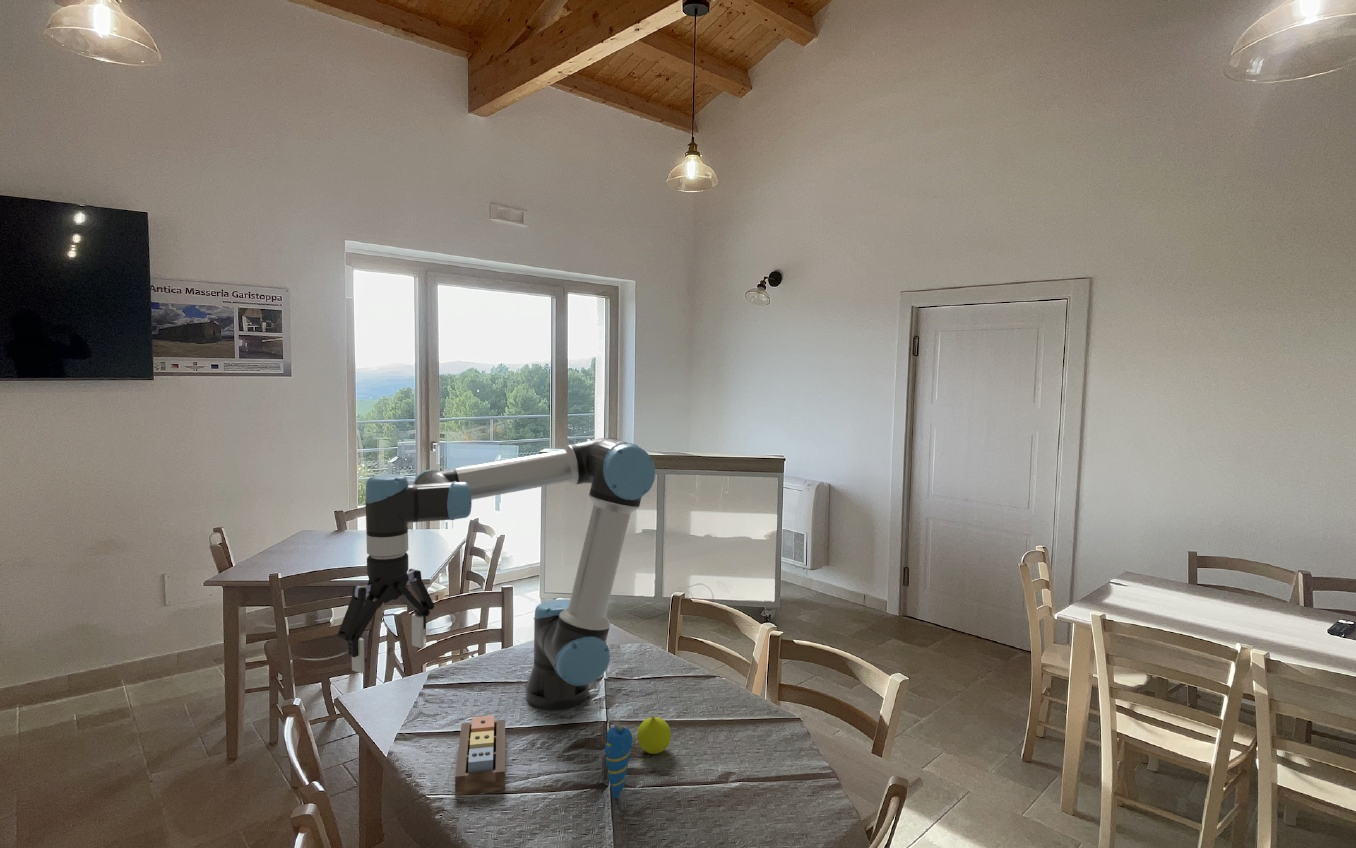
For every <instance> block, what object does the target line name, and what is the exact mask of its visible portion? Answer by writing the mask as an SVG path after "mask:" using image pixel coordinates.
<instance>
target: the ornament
mask: <svg viewBox="0 0 1356 848" xmlns="http://www.w3.org/2000/svg"><path fill="white" fill-rule="evenodd" d="M605 737H606V742H607V743H605V746H604V753H605V756H606V760H605V764H606V767H607V779H608V782H609V785H610V787H611V788H610V789H611V791H612V795H613V798H614V799H615V800H618V799H619V797H620V795H621V793H622V791H623V789H624V787H625V785H626V776H627V773H628V769H629V765H628V764H629V761H630V759H631V753H632V752H631V749H632V746H633V740H634V739H633V734H632V732H631V731H630V729H629V728H628V727H624V726H623V724H620V723H618V725H617V726H615V727H612V728H609V729H608V731H607V733H606V736H605Z"/></svg>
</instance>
